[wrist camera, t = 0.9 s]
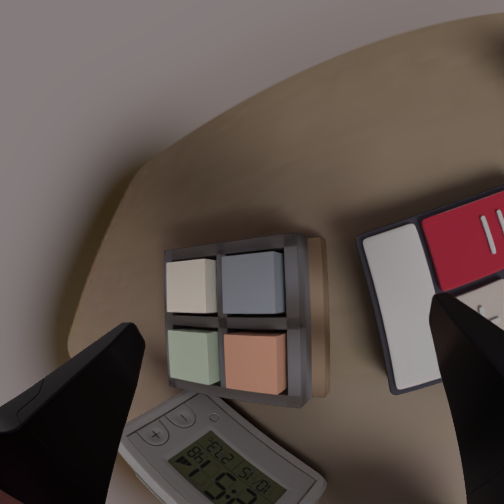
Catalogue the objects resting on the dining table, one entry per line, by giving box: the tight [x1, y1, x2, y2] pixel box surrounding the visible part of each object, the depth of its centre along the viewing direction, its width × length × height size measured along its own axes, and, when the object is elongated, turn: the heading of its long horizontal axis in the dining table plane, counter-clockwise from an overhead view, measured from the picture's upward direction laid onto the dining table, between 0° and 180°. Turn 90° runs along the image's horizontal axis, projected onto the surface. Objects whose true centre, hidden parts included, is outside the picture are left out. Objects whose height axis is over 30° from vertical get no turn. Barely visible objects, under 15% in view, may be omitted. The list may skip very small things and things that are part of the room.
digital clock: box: [118, 390, 327, 504], centre depth 19 cm, size 16×9×11 cm, turn 47°
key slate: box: [222, 251, 286, 314], centre depth 21 cm, size 4×4×2 cm
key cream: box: [166, 259, 218, 313], centre depth 24 cm, size 4×4×2 cm
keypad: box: [164, 233, 330, 408], centre depth 24 cm, size 12×14×4 cm
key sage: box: [168, 328, 221, 385], centre depth 23 cm, size 4×4×2 cm
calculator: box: [355, 185, 504, 395], centre depth 16 cm, size 11×4×15 cm
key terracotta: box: [224, 331, 288, 395], centre depth 20 cm, size 4×4×2 cm
